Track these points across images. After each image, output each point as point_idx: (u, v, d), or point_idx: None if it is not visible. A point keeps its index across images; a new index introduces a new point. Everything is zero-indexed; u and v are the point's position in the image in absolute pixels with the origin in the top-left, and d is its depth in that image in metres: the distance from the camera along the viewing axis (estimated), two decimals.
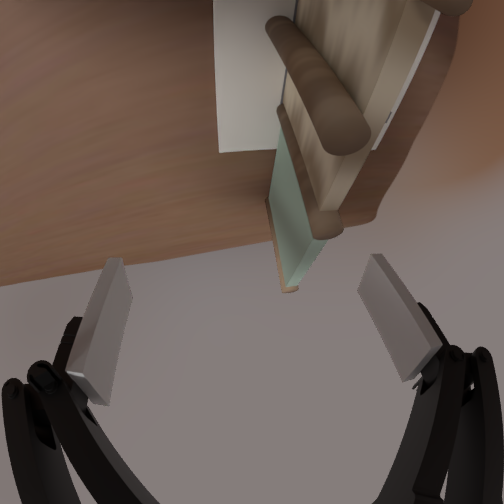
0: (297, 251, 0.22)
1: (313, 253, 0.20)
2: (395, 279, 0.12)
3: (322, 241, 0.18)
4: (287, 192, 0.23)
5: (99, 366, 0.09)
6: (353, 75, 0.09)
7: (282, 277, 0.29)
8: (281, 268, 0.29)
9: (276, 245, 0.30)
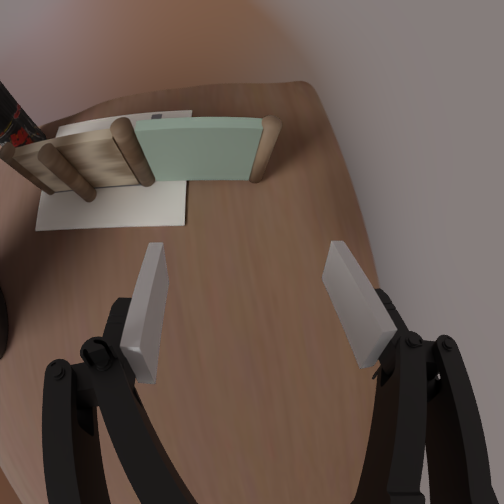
0: (181, 134, 0.22)
1: (162, 122, 0.21)
2: (353, 265, 0.13)
3: (140, 123, 0.21)
4: (176, 161, 0.27)
5: (149, 343, 0.10)
6: None
7: (263, 137, 0.23)
8: (260, 142, 0.24)
9: (257, 156, 0.27)
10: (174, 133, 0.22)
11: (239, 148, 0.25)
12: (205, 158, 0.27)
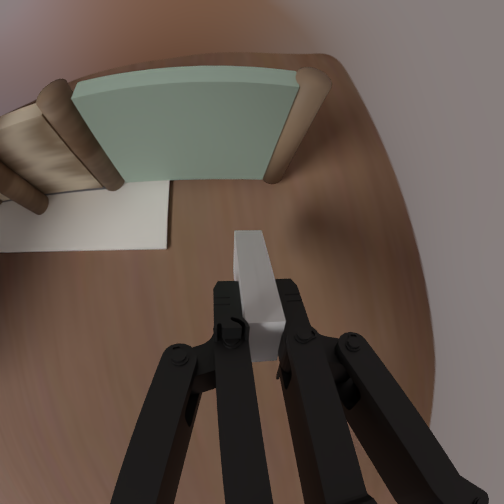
0: (151, 98, 0.11)
1: (118, 79, 0.10)
2: (261, 253, 0.13)
3: (82, 85, 0.10)
4: (149, 149, 0.16)
5: None
6: None
7: (298, 103, 0.12)
8: (290, 113, 0.13)
9: (282, 140, 0.16)
10: (137, 97, 0.11)
11: (253, 125, 0.14)
12: (195, 143, 0.16)
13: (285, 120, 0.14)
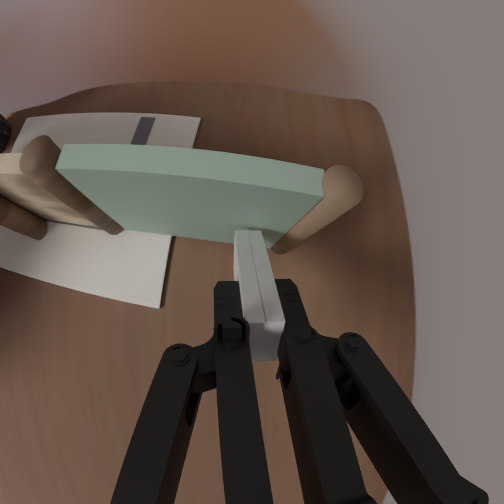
0: (145, 182, 0.10)
1: (107, 154, 0.09)
2: (260, 253, 0.13)
3: (68, 152, 0.09)
4: (148, 215, 0.15)
5: None
6: None
7: (319, 209, 0.11)
8: (308, 214, 0.12)
9: (295, 230, 0.15)
10: (130, 179, 0.10)
11: (264, 216, 0.13)
12: (198, 219, 0.15)
13: (301, 217, 0.13)
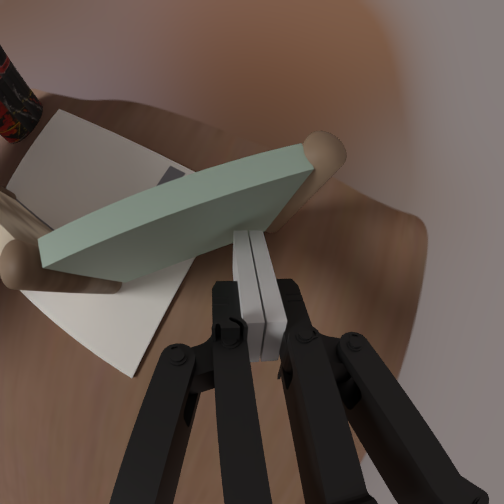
0: (140, 234, 0.10)
1: (89, 226, 0.09)
2: (262, 253, 0.13)
3: (47, 244, 0.08)
4: (146, 260, 0.15)
5: None
6: None
7: (310, 180, 0.11)
8: (300, 189, 0.12)
9: (288, 207, 0.15)
10: (124, 239, 0.10)
11: (259, 208, 0.13)
12: (196, 240, 0.15)
13: (293, 193, 0.13)
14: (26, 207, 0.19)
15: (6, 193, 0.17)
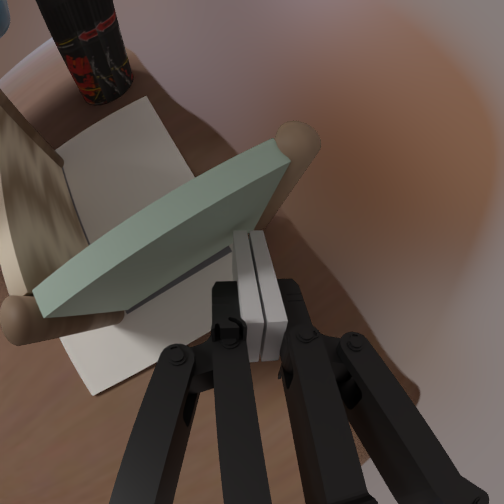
0: (132, 263, 0.10)
1: (79, 267, 0.08)
2: (262, 253, 0.13)
3: (42, 294, 0.08)
4: (143, 285, 0.14)
5: None
6: None
7: (290, 173, 0.11)
8: (281, 183, 0.12)
9: (272, 202, 0.15)
10: (116, 272, 0.09)
11: (243, 211, 0.13)
12: (188, 254, 0.15)
13: (275, 188, 0.13)
14: (68, 184, 0.20)
15: (54, 159, 0.19)
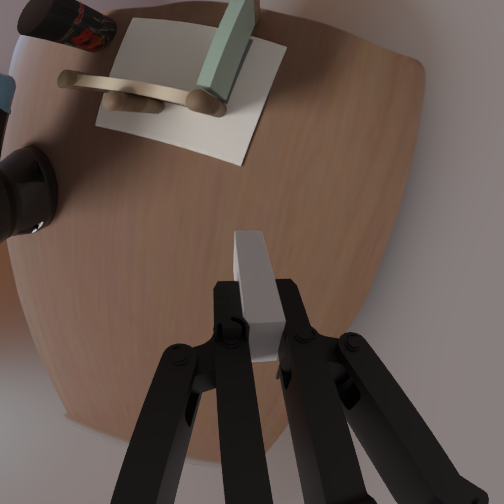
0: (227, 47, 0.19)
1: (211, 59, 0.18)
2: (261, 253, 0.13)
3: (202, 80, 0.19)
4: (229, 69, 0.24)
5: None
6: None
7: None
8: None
9: (255, 3, 0.19)
10: (224, 53, 0.19)
11: (248, 12, 0.19)
12: (238, 43, 0.22)
13: None
14: None
15: None
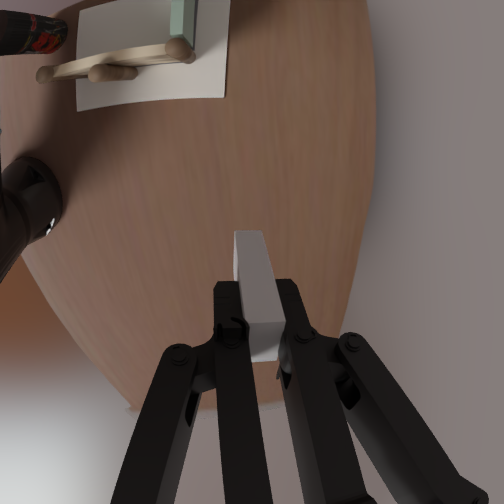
0: (185, 0, 0.17)
1: (175, 12, 0.17)
2: (261, 253, 0.13)
3: (174, 30, 0.18)
4: (189, 19, 0.22)
5: None
6: None
7: None
8: None
9: None
10: (184, 5, 0.17)
11: None
12: None
13: None
14: None
15: None
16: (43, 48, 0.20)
